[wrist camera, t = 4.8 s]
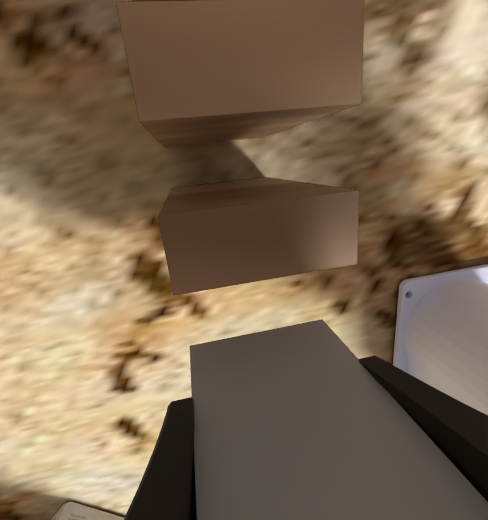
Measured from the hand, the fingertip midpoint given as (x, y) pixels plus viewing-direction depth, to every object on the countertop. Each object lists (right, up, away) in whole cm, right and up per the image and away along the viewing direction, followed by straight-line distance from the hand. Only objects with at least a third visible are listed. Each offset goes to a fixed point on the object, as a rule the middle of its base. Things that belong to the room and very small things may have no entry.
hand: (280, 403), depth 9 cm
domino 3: (-3, +11, +6) cm, 13 cm away
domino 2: (-2, +8, +7) cm, 10 cm away
